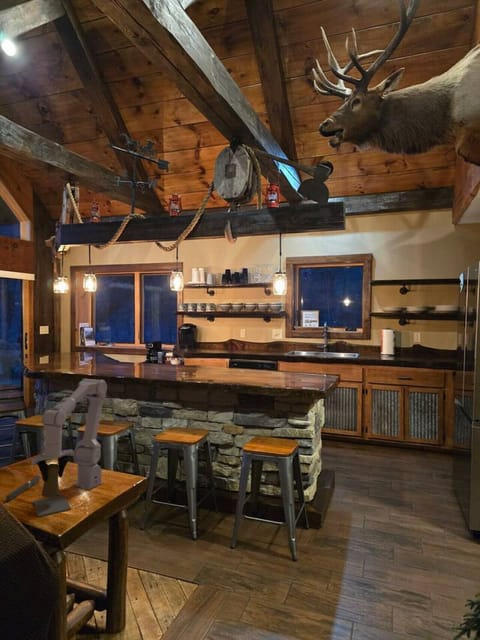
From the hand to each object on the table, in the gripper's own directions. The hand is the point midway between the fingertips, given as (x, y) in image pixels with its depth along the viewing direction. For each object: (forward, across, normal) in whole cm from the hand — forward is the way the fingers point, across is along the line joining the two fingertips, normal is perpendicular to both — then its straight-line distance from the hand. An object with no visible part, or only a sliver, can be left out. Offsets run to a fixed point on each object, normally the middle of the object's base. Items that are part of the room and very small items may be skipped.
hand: (52, 478), depth 152 cm
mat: (+10, 0, 0) cm, 10 cm away
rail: (+10, -6, -13) cm, 18 cm away
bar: (+10, +3, -20) cm, 23 cm away
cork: (+6, 0, -1) cm, 6 cm away
